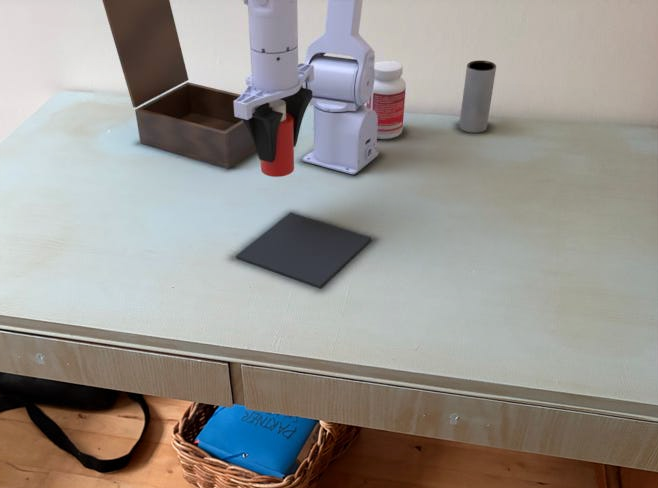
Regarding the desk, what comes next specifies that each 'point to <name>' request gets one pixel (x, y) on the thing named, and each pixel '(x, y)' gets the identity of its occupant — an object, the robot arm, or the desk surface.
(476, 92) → the grey tube
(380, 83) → the pill bottle
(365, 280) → the desk surface
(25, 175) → the desk surface
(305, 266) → the mat
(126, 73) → the brown box lid
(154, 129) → the brown wooden open box
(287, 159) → the ketchup
